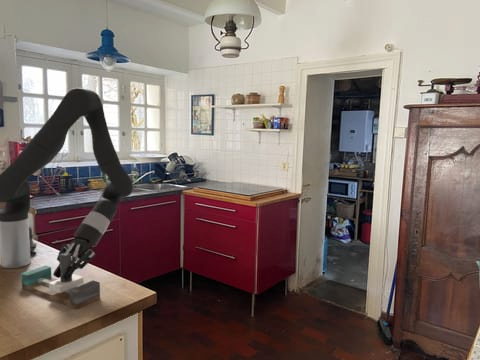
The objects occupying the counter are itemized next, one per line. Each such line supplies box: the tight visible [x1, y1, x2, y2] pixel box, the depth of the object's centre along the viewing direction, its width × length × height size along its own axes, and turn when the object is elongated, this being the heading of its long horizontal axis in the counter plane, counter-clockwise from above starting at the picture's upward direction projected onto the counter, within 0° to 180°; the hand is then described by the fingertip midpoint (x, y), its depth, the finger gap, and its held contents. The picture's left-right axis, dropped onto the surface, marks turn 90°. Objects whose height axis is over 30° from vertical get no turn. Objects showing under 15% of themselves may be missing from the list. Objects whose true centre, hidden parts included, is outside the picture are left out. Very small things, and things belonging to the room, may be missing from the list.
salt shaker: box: [29, 226, 37, 257], centre depth 145 cm, size 6×6×12 cm
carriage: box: [49, 253, 84, 293], centre depth 109 cm, size 5×8×10 cm, turn 152°
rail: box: [20, 265, 101, 310], centre depth 112 cm, size 26×8×5 cm, turn 62°
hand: (60, 277), depth 108 cm, fingers closed on carriage, 3 cm apart
